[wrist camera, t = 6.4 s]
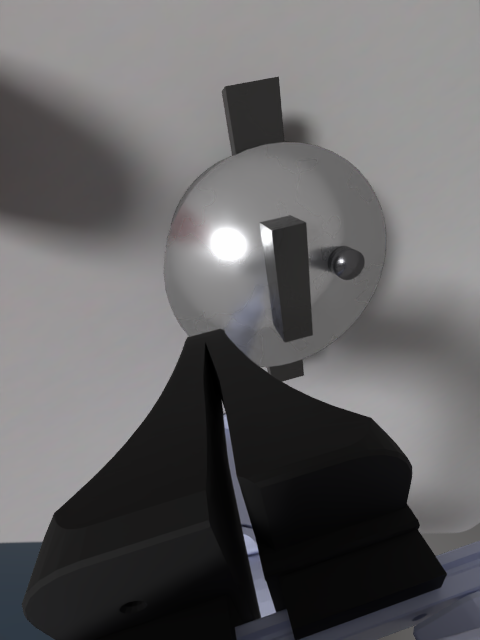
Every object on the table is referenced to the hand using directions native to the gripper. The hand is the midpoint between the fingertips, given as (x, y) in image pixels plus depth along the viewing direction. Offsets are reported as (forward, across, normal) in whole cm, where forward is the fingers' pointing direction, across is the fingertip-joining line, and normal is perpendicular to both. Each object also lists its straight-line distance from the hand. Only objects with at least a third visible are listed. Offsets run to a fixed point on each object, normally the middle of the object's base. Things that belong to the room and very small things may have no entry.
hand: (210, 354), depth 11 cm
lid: (+6, -5, 0) cm, 8 cm away
